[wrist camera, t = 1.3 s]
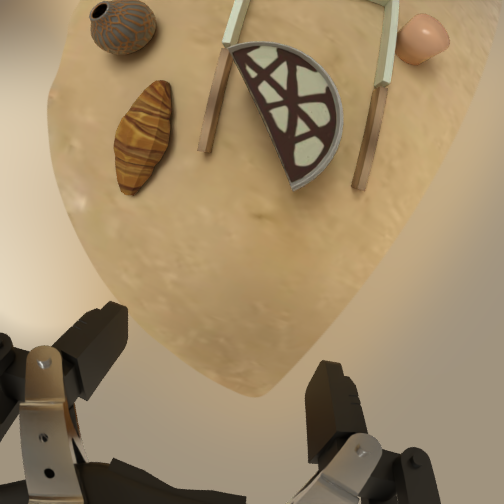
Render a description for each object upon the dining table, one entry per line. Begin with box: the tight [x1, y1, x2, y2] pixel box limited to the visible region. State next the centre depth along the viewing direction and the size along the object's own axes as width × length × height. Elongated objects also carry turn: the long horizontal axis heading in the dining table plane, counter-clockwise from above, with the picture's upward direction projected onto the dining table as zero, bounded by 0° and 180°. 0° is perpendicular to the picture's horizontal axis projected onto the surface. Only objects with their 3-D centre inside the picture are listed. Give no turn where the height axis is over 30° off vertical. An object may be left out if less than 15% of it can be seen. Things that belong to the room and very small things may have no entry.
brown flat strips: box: [197, 48, 388, 191], centre depth 25 cm, size 11×17×2 cm, turn 78°
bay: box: [222, 0, 399, 88], centre depth 20 cm, size 13×17×3 cm
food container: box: [227, 41, 343, 191], centre depth 21 cm, size 12×6×10 cm, turn 23°
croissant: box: [114, 80, 172, 196], centre depth 26 cm, size 14×7×5 cm, turn 159°
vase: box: [89, 0, 156, 54], centre depth 19 cm, size 7×7×9 cm
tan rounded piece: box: [395, 14, 450, 65], centre depth 18 cm, size 4×4×6 cm
